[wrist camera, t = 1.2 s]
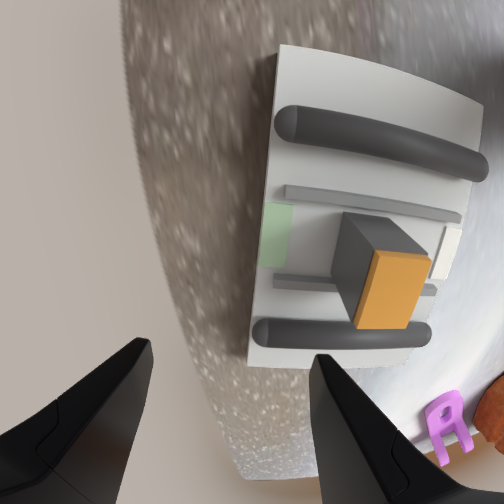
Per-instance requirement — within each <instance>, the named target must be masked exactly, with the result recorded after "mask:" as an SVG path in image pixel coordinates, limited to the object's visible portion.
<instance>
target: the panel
mask: <svg viewBox="0 0 504 504" xmlns="http://www.w3.org/2000/svg"><path fill="white" fill-rule="evenodd" d="M483 109H484V105H482V104H480V103H478V102H476V101H474V100H472V99H470V98H468V97H466V96H463V95H461V94H459V93H457V92H455V91H452V90H450V89H448V88H446V87H443V86H441V85H438V84H436V83H433V82H431V81H428V80H426V79H423V78H420V77H418V76H415V75H412V74H409V73H406V72H403V71H400V70H397V69H394V68H391V67H388V66H384V65H381V64H377V63H374V62H370V61H366V60H363V59H359V58H355V57H350V56H346V55H342V54H337V53H332V52H327V51H322V50H316V49H310V48H304V47H297V46H290V45H282V44H280V47H279V50H278V55H277V66H276V76H275V87H274V97H273V107H272V118H271V128H270V138H269V148H268V158H267V168H266V178H265V188H264V198H263V208H262V218H261V227H260V237H259V247H258V256H257V266H256V275H255V285H254V294H253V304H252V313H251V322H250V331H249V341H248V351H247V366H254V367H271V368H299V369H311V366H312V363H313V360H314V357H315V355H316V354H329V355H331V356H332V357H333V358H334V360H335V361H336V362H337V363H338V364H339V365H340V366H341V367H342V368H343V369H347V368H374V367H390V366H404V365H405V364H406V362H407V360H408V358H409V356H410V354H411V353H412V351H413V349H414V348H416V347H423V346H425V345H426V344H428V342H429V341H430V339H431V336H432V331H431V328H430V326H429V325H428V324H426V322H427V320H428V318H429V315H430V313H431V311H432V309H433V306H434V304H435V302H436V299H437V297H438V294H439V292H440V289H441V287H442V284H443V282H444V280H446V279H447V276H448V273H449V270H450V268H451V265H452V262H453V259H454V256H455V253H456V250H457V247H458V244H459V241H460V238H461V234H462V231H463V229H461V228H462V225H463V221H464V218H465V214H466V210H467V206H468V202H469V198H470V193H471V189H472V184H473V182H481V181H483V180H484V179H485V178H486V177H487V175H488V172H489V166H488V162H487V160H486V158H485V157H484V156H483V155H482V154H481V153H479V145H480V138H481V130H482V120H483ZM343 211H344V212H352V213H359V214H367V215H374V216H381V217H388V218H390V219H391V220H392V221H393V222H394V223H395V224H397V225H398V226H399V227H400V228H401V229H402V230H403V231H405V232H406V233H407V234H408V235H409V236H410V237H411V238H412V239H413V240H415V241H416V242H417V243H418V244H419V245H420V246H421V247H422V248H423V249H424V250H425V251H426V252H428V257H429V258H430V259H431V260H432V263H431V266H430V269H429V272H428V275H427V278H426V280H425V283H424V286H423V288H422V291H421V294H420V296H419V299H418V301H417V304H416V306H415V309H414V311H413V313H412V316H411V318H410V320H409V323H408V325H407V327H406V329H356V326H355V324H354V323H351V322H350V319H349V317H348V314H347V312H346V309H345V307H344V304H343V302H342V299H341V297H340V295H339V292H338V290H337V287H336V285H335V283H334V280H333V278H332V276H331V273H330V272H331V267H332V263H333V258H334V254H335V249H336V245H337V240H338V235H339V230H340V225H341V220H342V215H343Z"/></svg>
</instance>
